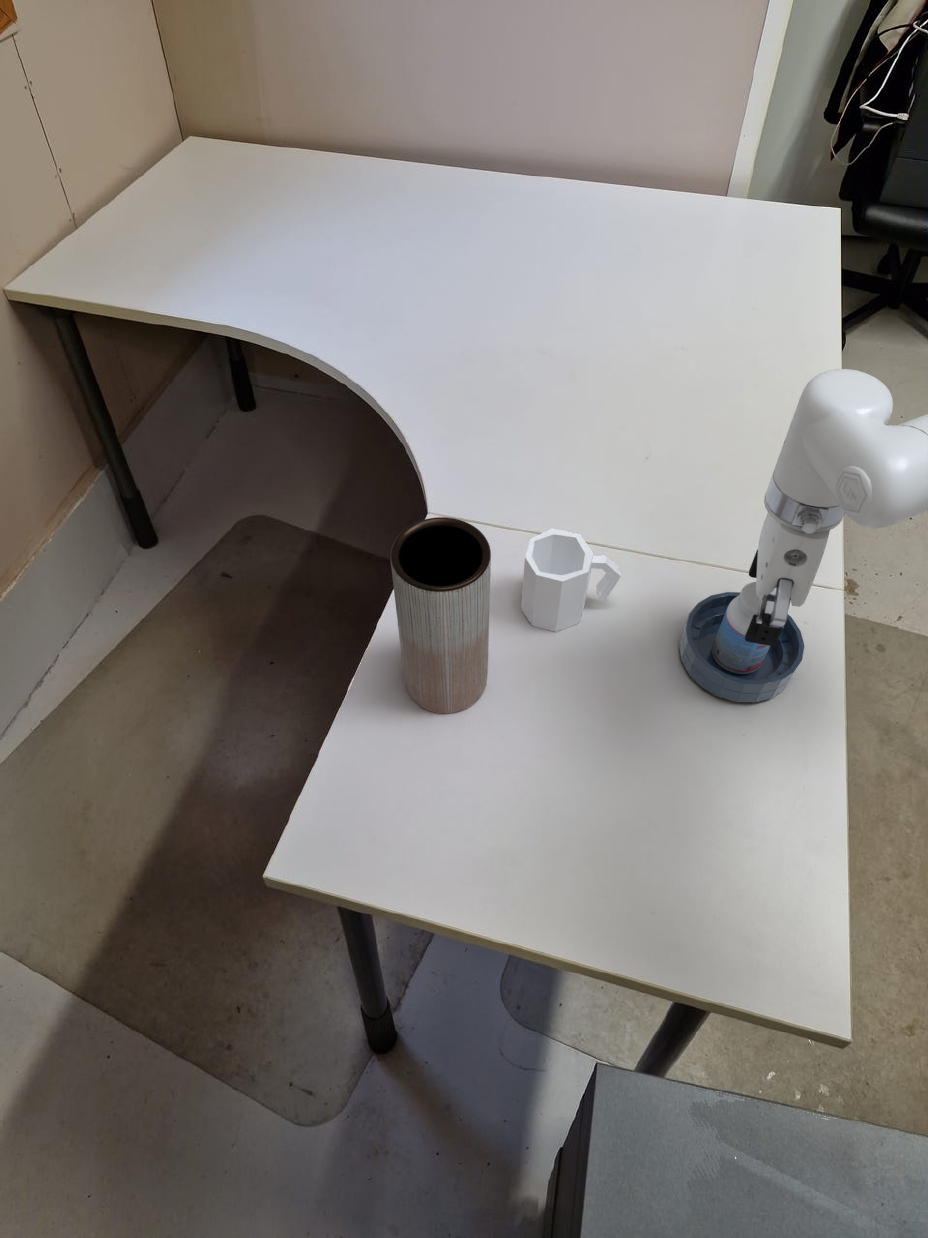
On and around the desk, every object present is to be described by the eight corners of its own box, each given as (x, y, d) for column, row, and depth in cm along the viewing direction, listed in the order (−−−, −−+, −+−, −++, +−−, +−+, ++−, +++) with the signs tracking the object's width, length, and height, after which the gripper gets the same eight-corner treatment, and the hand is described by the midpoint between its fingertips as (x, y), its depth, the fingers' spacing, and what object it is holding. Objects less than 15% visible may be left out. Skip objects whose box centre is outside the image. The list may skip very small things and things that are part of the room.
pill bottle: (755, 683, 98) (783, 626, 89) (705, 665, 99) (728, 607, 90) (767, 646, 101) (795, 587, 92) (718, 629, 103) (741, 569, 94)
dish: (758, 604, 106) (768, 582, 102) (813, 690, 98) (826, 669, 94) (661, 627, 104) (667, 605, 100) (708, 716, 96) (717, 695, 92)
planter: (391, 700, 97) (373, 574, 79) (423, 636, 103) (413, 505, 85) (470, 725, 95) (470, 602, 77) (498, 659, 101) (504, 529, 83)
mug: (524, 633, 103) (529, 583, 95) (517, 581, 108) (520, 529, 101) (619, 628, 104) (631, 577, 96) (607, 576, 109) (617, 524, 101)
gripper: (851, 566, 73) (794, 676, 86) (846, 444, 84) (795, 559, 97) (765, 551, 74) (721, 662, 88) (770, 433, 85) (731, 548, 98)
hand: (760, 608), depth 92 cm, fingers open, 9 cm apart
